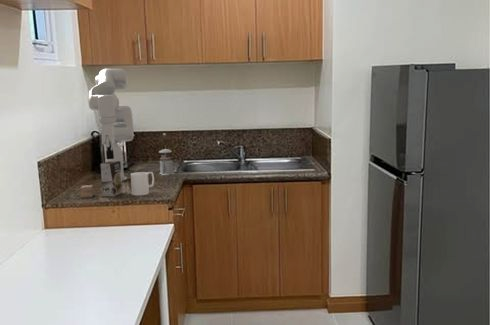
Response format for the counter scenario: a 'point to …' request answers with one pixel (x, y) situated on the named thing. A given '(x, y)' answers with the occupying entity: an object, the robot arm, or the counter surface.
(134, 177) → the cup
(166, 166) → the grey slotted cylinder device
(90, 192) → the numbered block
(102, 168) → the coffee box
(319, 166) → the counter surface
